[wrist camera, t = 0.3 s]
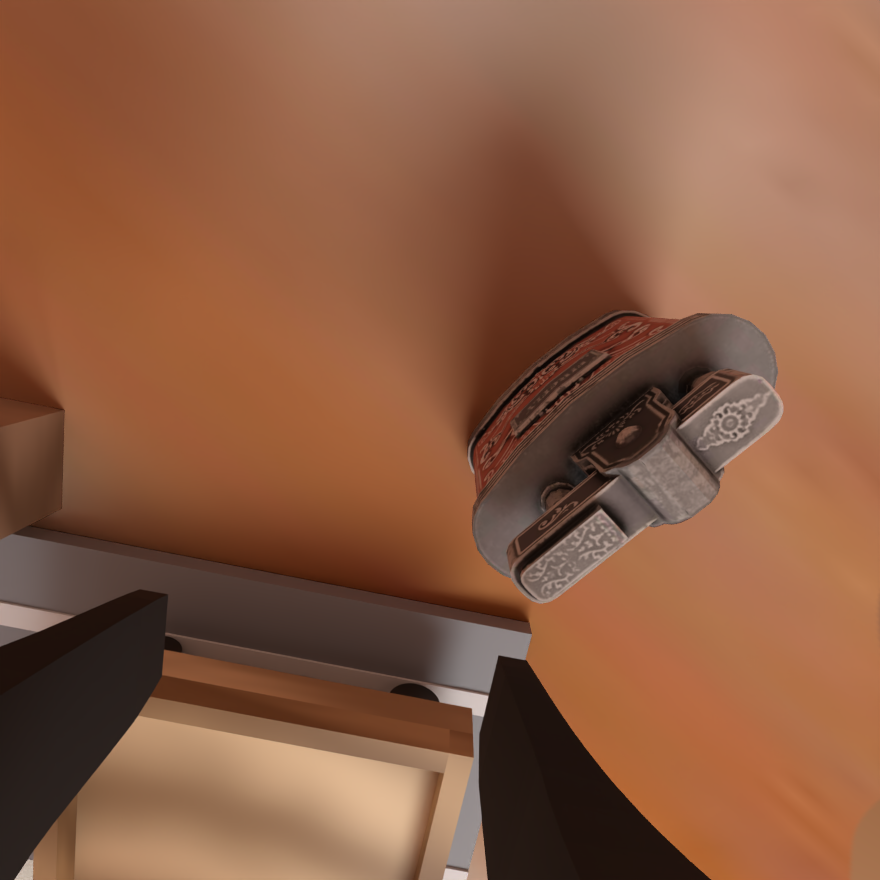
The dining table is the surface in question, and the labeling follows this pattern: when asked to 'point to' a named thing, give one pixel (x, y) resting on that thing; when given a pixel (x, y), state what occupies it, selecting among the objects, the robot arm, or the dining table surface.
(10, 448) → the block
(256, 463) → the dining table surface
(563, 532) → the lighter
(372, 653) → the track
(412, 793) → the tray
